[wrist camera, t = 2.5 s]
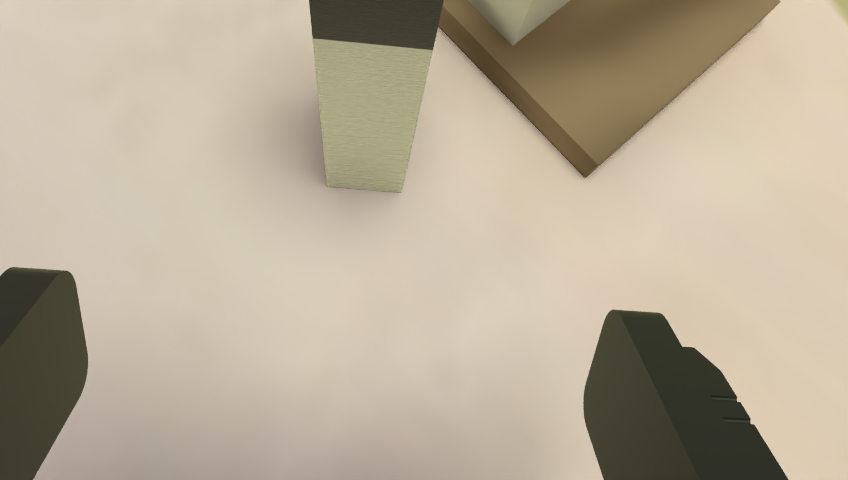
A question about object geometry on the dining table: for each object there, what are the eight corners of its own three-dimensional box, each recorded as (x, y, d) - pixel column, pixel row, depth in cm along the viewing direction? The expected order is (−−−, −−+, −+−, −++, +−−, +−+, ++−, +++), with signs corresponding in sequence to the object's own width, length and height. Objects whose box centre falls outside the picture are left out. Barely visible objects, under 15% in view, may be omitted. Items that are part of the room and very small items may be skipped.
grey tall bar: (326, 186, 28) (305, -41, 14) (335, 96, 29) (322, -195, 15) (401, 192, 28) (449, -25, 14) (406, 102, 29) (456, -178, 15)
